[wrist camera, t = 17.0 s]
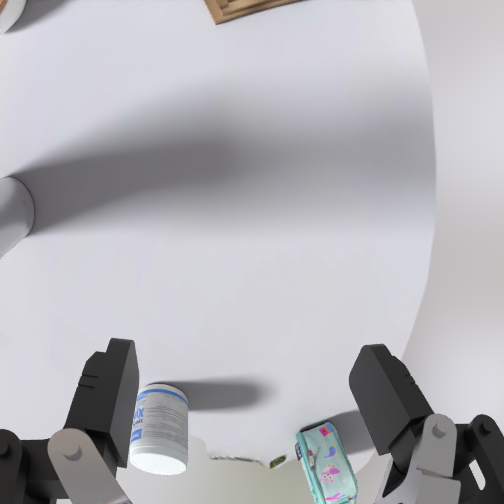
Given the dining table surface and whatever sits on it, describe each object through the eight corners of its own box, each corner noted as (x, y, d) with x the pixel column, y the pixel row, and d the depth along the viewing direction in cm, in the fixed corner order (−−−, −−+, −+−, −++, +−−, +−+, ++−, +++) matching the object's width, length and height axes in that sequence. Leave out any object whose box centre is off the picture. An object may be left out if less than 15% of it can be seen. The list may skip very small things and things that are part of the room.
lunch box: (287, 424, 59) (308, 509, 40) (332, 410, 59) (362, 492, 40) (305, 463, 71) (322, 525, 52) (340, 452, 71) (360, 513, 52)
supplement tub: (135, 378, 48) (123, 449, 35) (188, 383, 49) (186, 455, 36) (141, 409, 52) (134, 472, 39) (189, 413, 53) (188, 477, 40)
